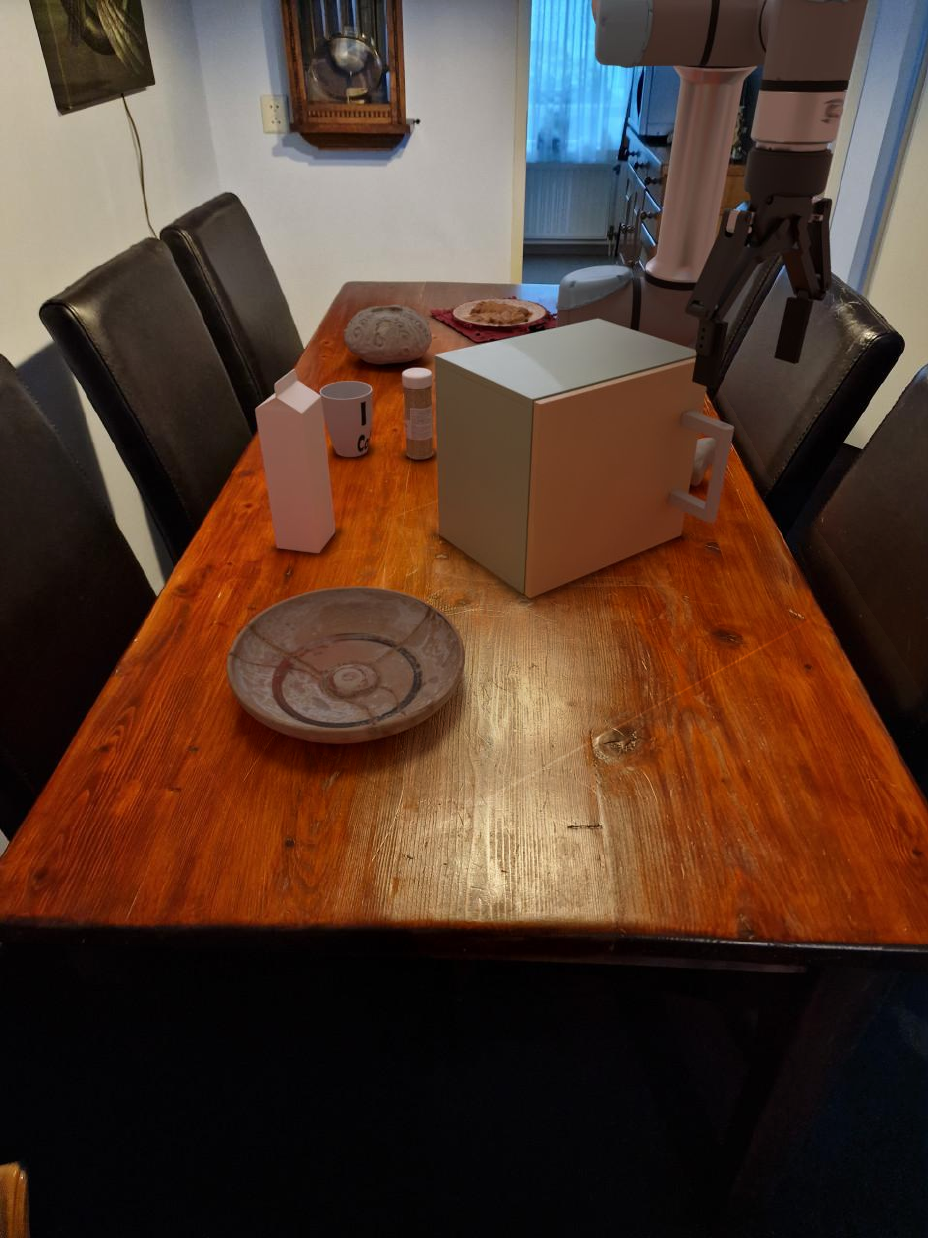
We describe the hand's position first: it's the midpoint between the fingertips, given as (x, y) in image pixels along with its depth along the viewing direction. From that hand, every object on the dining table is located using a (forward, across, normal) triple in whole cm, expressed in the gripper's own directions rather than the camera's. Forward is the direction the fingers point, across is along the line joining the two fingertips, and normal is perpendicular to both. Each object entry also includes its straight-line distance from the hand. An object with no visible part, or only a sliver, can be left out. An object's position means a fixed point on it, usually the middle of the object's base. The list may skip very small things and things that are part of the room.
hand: (746, 372), depth 88 cm
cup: (+25, -19, +58) cm, 65 cm away
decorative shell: (+25, +10, +94) cm, 97 cm away
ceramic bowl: (+25, -48, +6) cm, 54 cm away
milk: (+25, -38, +36) cm, 58 cm away
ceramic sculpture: (+25, +13, +21) cm, 35 cm away
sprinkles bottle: (+25, -11, +50) cm, 56 cm away
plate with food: (+24, +45, +103) cm, 115 cm away
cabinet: (+25, -10, +18) cm, 32 cm away
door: (+24, -10, +4) cm, 27 cm away
